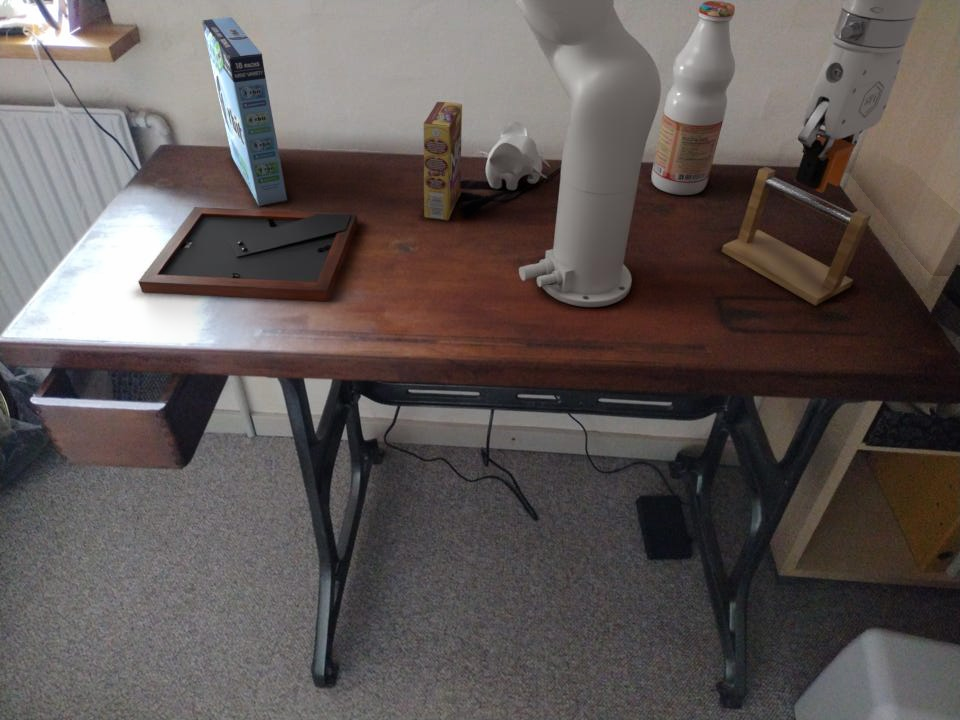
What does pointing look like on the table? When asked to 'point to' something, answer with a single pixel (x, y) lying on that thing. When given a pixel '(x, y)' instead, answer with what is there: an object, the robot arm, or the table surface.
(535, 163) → the elephant figurine
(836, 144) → the clip
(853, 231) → the rail stand
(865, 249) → the table surface
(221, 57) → the gum box
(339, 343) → the table surface
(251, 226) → the picture frame
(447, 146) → the candy box
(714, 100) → the fruit juice
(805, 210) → the table surface
